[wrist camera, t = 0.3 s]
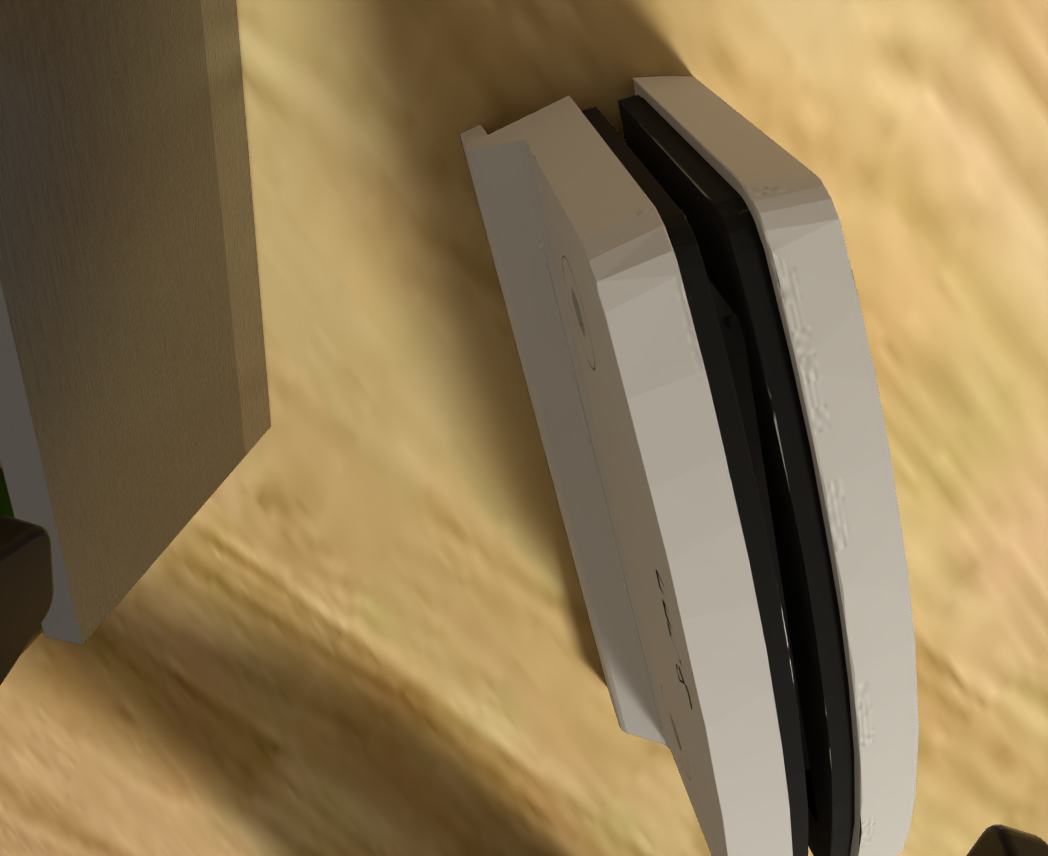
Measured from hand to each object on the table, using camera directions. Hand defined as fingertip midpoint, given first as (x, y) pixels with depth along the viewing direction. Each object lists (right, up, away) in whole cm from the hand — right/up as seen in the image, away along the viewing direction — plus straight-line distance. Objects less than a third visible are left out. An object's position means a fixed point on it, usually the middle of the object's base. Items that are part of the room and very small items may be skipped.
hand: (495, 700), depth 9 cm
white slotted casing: (+4, +3, +15) cm, 16 cm away
